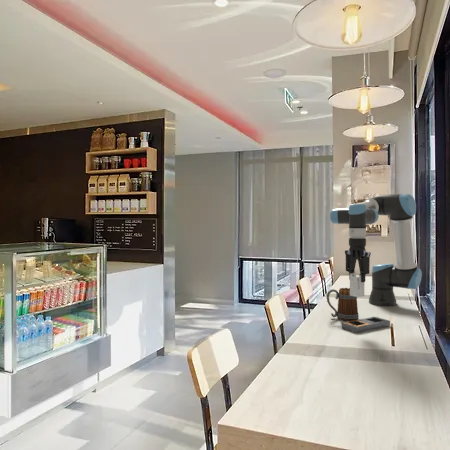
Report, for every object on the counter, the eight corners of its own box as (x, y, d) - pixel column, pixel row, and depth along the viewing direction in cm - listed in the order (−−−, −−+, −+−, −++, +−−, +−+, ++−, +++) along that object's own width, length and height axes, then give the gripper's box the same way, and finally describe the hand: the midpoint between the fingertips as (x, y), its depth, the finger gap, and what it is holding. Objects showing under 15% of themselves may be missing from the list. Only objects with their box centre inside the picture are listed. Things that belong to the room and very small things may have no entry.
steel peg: (356, 294, 188) (356, 275, 187) (364, 296, 184) (364, 276, 183) (349, 295, 185) (349, 276, 185) (357, 297, 182) (357, 277, 181)
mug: (355, 316, 208) (355, 287, 207) (360, 321, 197) (360, 291, 197) (325, 315, 209) (325, 287, 209) (328, 321, 199) (328, 291, 198)
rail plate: (374, 321, 197) (374, 316, 197) (390, 326, 189) (390, 320, 189) (341, 328, 187) (341, 322, 187) (356, 333, 179) (356, 327, 179)
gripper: (337, 236, 190) (337, 286, 190) (366, 238, 174) (366, 292, 175) (348, 236, 193) (348, 284, 194) (378, 238, 178) (378, 290, 179)
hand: (357, 288), depth 184 cm, fingers closed on steel peg, 4 cm apart
